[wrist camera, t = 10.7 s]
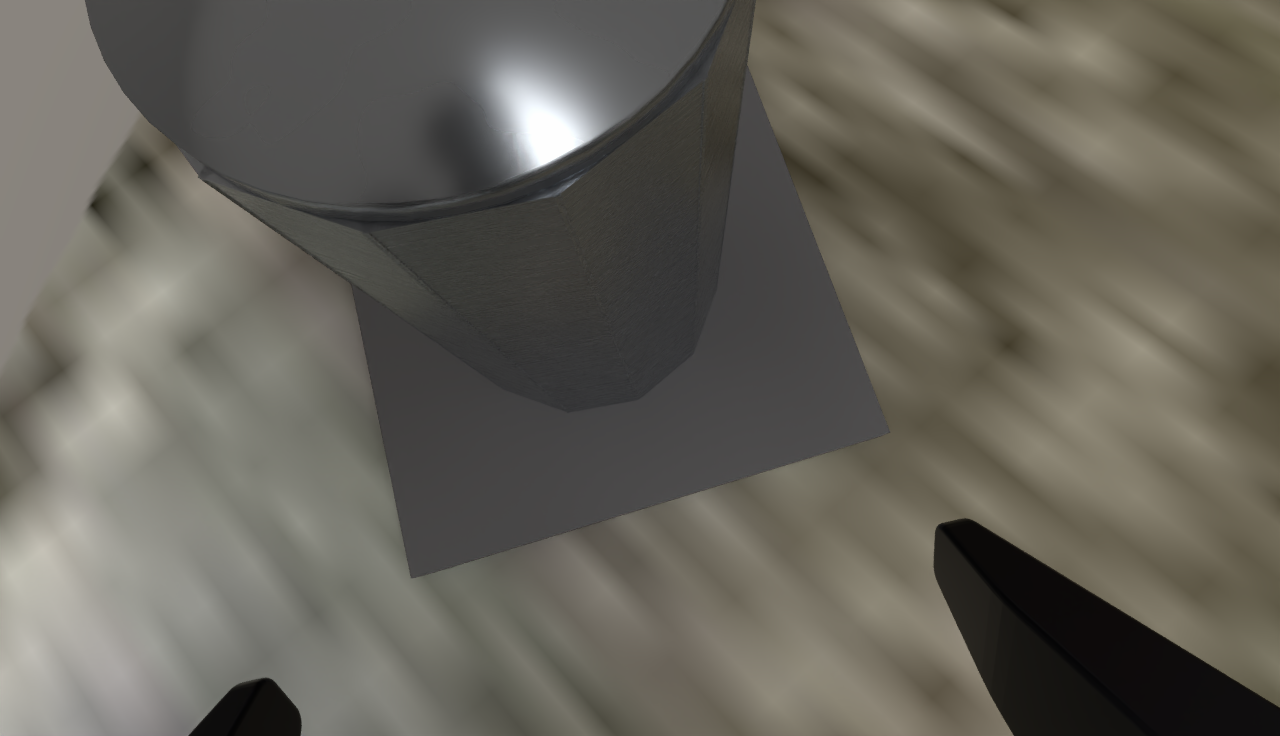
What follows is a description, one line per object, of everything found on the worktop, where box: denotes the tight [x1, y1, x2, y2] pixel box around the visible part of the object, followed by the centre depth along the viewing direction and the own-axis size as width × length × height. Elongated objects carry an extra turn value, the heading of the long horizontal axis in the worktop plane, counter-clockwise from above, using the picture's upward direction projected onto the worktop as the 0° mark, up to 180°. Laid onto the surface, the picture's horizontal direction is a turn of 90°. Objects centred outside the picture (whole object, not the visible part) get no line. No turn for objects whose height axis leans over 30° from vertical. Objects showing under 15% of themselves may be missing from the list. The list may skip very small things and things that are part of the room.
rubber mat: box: [351, 66, 890, 578], centre depth 18 cm, size 13×13×3 cm
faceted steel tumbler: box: [85, 0, 756, 413], centre depth 13 cm, size 7×7×12 cm
